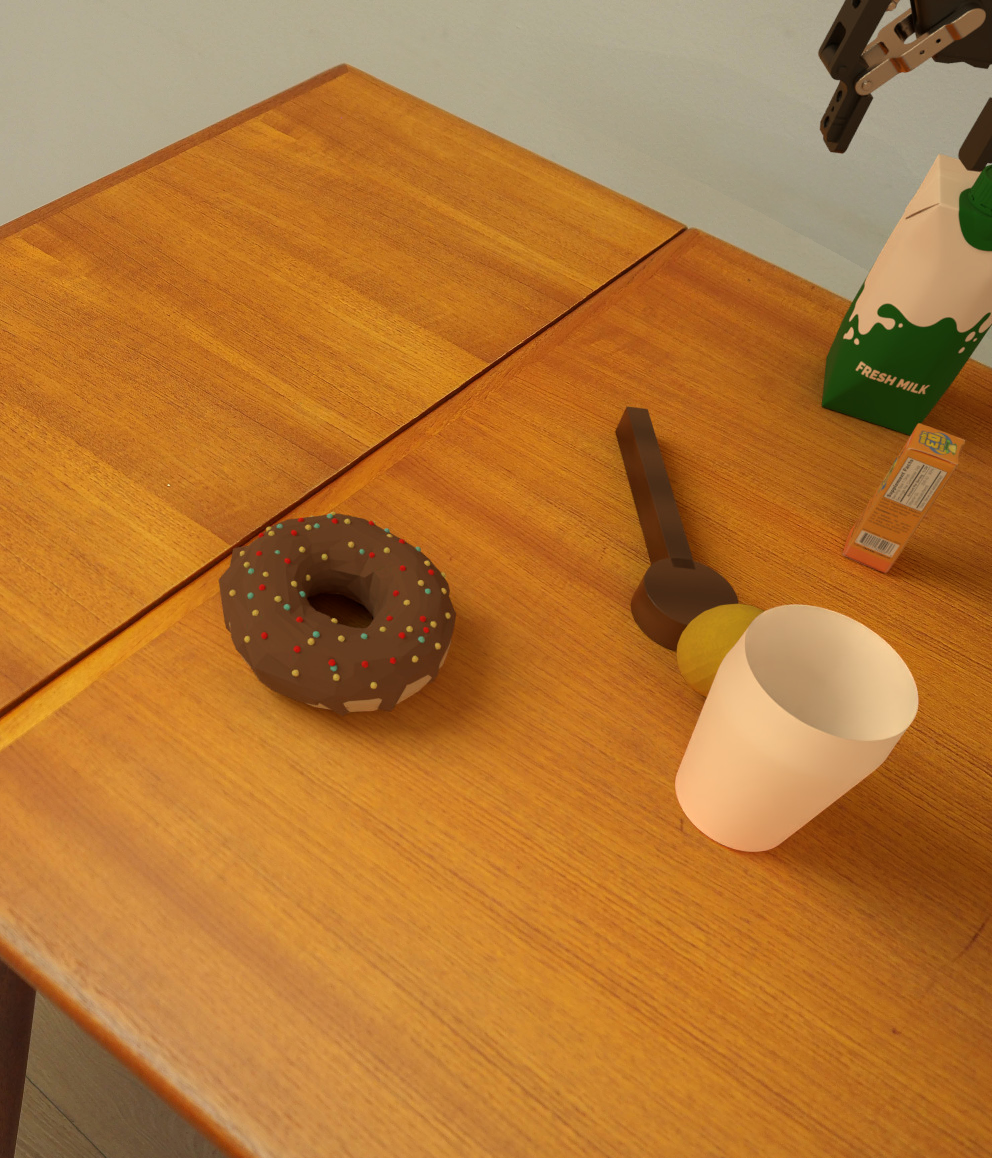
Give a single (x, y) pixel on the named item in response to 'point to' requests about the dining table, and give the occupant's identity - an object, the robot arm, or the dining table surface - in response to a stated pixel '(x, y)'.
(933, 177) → the milk carton
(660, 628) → the wooden spoon
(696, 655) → the lemon
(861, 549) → the supplement box
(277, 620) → the donut
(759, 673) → the cup
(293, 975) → the dining table surface
